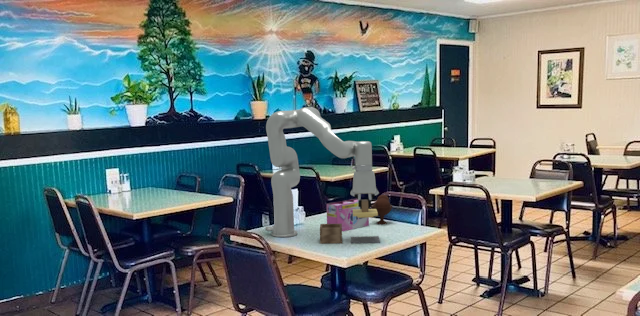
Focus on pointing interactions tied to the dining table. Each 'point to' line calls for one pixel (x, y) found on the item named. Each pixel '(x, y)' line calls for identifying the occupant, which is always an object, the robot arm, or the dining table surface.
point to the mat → (365, 239)
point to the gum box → (345, 215)
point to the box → (330, 233)
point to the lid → (365, 211)
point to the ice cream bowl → (382, 207)
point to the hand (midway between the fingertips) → (364, 208)
